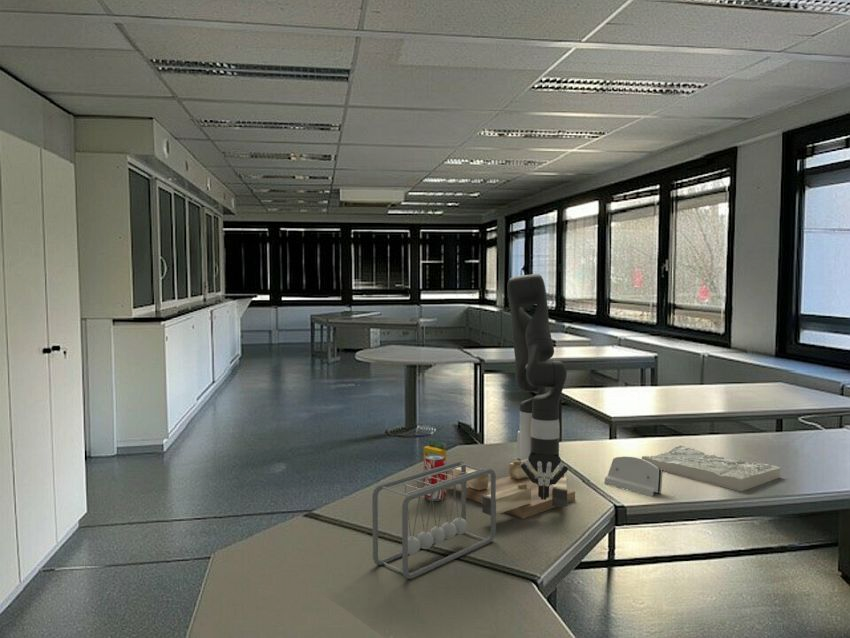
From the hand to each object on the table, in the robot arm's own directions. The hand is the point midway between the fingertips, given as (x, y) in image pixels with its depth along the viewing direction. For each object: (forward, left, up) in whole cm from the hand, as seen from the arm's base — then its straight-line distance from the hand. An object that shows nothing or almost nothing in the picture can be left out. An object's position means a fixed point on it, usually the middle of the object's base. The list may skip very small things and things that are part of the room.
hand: (543, 498), depth 169 cm
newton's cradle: (+1, -39, -4) cm, 39 cm away
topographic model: (+11, +70, -4) cm, 71 cm away
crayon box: (-41, -3, -4) cm, 41 cm away
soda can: (-27, -15, -4) cm, 31 cm away
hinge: (+4, +37, -4) cm, 37 cm away
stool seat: (-16, +4, -4) cm, 17 cm away
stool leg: (0, +6, -1) cm, 6 cm away
